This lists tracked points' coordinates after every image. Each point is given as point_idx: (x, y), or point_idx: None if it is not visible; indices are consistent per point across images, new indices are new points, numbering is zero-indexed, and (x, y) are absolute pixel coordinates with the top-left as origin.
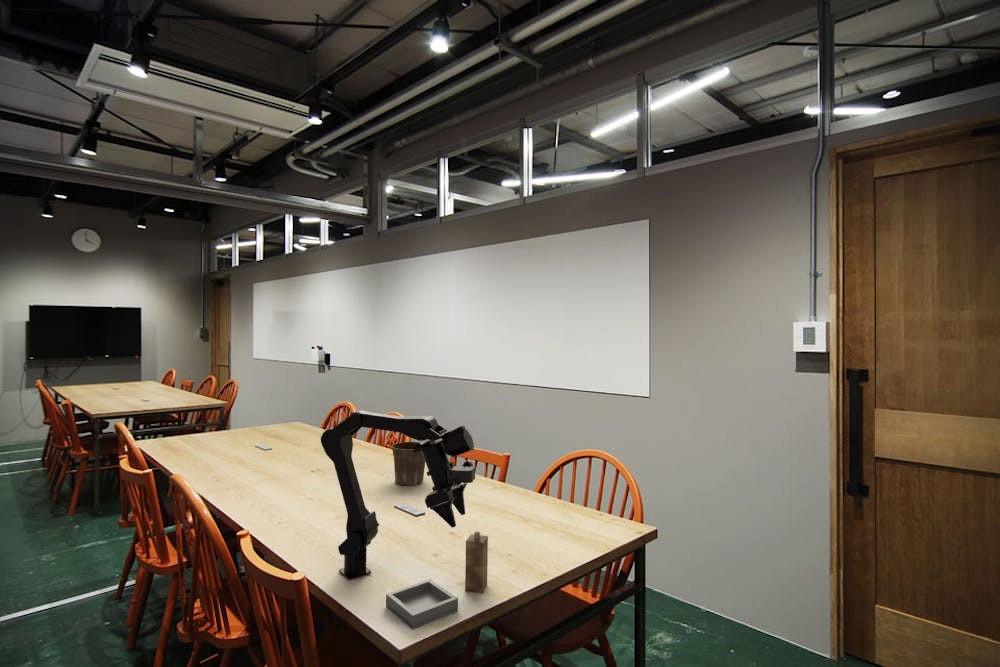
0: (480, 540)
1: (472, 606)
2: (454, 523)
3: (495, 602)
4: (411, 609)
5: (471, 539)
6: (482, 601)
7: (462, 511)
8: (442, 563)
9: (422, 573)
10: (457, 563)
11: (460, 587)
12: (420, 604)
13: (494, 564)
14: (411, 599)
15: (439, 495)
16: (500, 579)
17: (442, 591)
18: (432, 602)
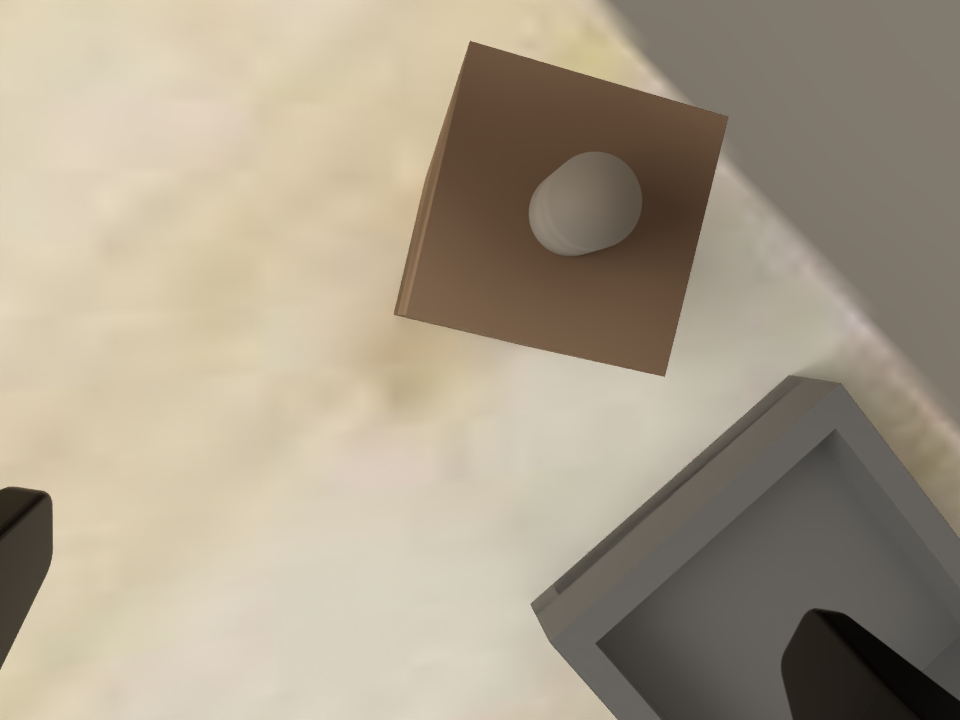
0: (648, 159)
1: (729, 282)
2: (895, 659)
3: None
4: None
5: (610, 297)
6: None
7: (8, 572)
8: None
9: (239, 713)
10: (21, 448)
11: (465, 385)
12: (774, 633)
13: (21, 108)
14: (711, 707)
15: None
16: (321, 66)
17: (742, 511)
18: (752, 558)
